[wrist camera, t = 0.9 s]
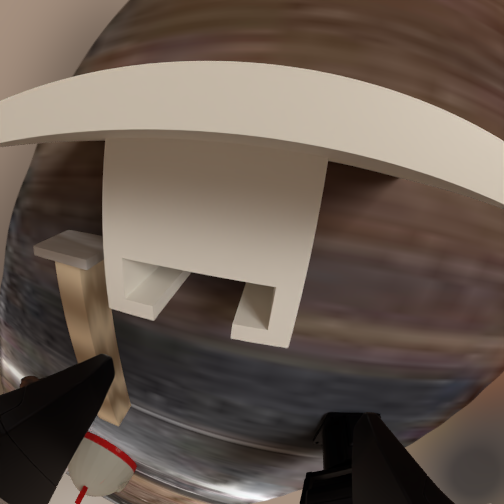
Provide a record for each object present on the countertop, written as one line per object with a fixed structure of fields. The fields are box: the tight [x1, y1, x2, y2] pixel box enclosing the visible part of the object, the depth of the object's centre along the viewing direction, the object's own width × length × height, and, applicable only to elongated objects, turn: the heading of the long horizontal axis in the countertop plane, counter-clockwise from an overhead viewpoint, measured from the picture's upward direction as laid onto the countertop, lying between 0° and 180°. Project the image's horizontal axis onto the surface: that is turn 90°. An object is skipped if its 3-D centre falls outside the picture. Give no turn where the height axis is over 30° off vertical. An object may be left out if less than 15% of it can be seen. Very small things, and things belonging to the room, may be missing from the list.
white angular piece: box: [0, 61, 504, 348], centre depth 13 cm, size 12×24×14 cm, turn 83°
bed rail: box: [33, 230, 131, 426], centre depth 24 cm, size 23×6×5 cm, turn 172°
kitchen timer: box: [68, 432, 137, 504], centre depth 31 cm, size 14×14×15 cm
